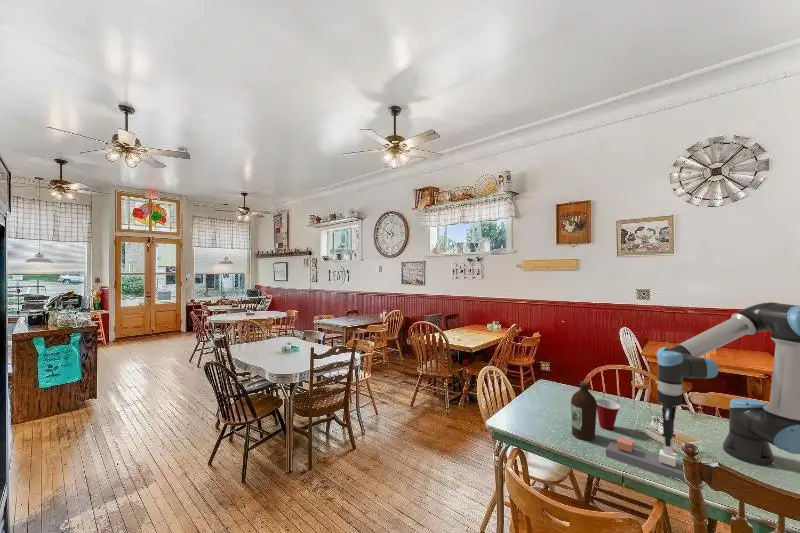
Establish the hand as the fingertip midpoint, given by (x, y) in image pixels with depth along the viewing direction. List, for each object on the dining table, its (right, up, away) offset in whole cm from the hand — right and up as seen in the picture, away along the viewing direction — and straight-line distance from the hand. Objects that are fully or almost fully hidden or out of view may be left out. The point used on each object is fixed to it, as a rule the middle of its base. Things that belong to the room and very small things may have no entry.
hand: (667, 453), depth 136 cm
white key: (0, -3, 0) cm, 3 cm away
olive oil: (-19, -7, +27) cm, 34 cm away
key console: (-5, -7, +5) cm, 10 cm away
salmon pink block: (-10, -3, +10) cm, 14 cm away
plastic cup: (-3, -6, +35) cm, 36 cm away
